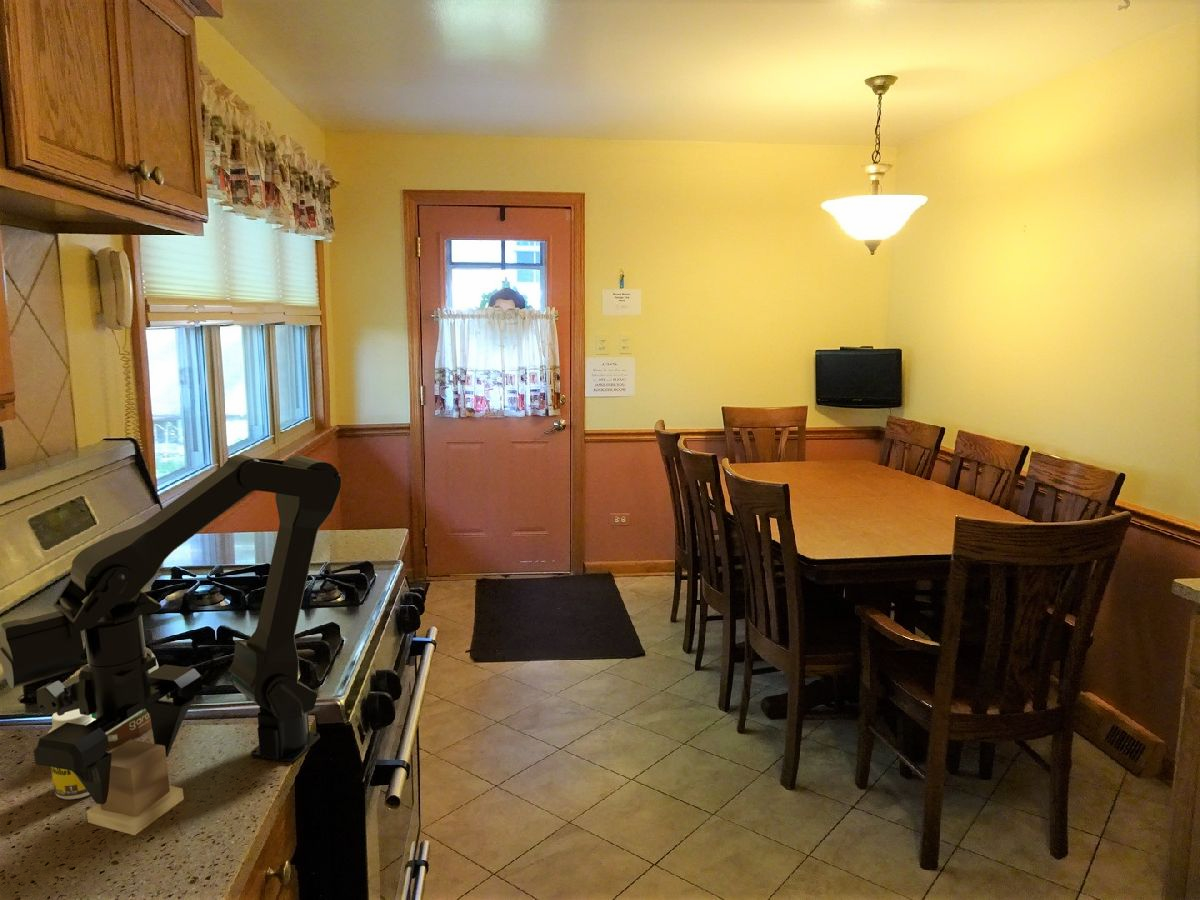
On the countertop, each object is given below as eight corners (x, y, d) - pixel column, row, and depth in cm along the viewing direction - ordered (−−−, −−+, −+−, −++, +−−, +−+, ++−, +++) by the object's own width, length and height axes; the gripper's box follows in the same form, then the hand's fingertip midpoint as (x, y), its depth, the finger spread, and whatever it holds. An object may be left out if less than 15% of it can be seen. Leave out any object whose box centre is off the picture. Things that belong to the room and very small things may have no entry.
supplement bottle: (45, 793, 100) (33, 716, 98) (91, 770, 105) (81, 696, 103) (70, 807, 98) (59, 728, 96) (117, 783, 102) (107, 707, 100)
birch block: (139, 791, 101) (138, 777, 101) (184, 803, 99) (182, 788, 99) (88, 826, 95) (86, 811, 95) (135, 839, 93) (133, 824, 92)
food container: (133, 754, 108) (124, 684, 106) (87, 754, 109) (77, 684, 107) (181, 707, 121) (174, 643, 119) (140, 707, 121) (132, 643, 119)
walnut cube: (135, 784, 100) (130, 739, 98) (169, 791, 98) (164, 745, 97) (100, 809, 95) (95, 762, 94) (136, 816, 94) (130, 769, 92)
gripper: (123, 617, 104) (137, 729, 107) (-18, 686, 86) (4, 818, 89) (198, 625, 101) (211, 740, 104) (68, 698, 83) (88, 834, 87)
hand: (133, 779), depth 96 cm, fingers open, 9 cm apart
